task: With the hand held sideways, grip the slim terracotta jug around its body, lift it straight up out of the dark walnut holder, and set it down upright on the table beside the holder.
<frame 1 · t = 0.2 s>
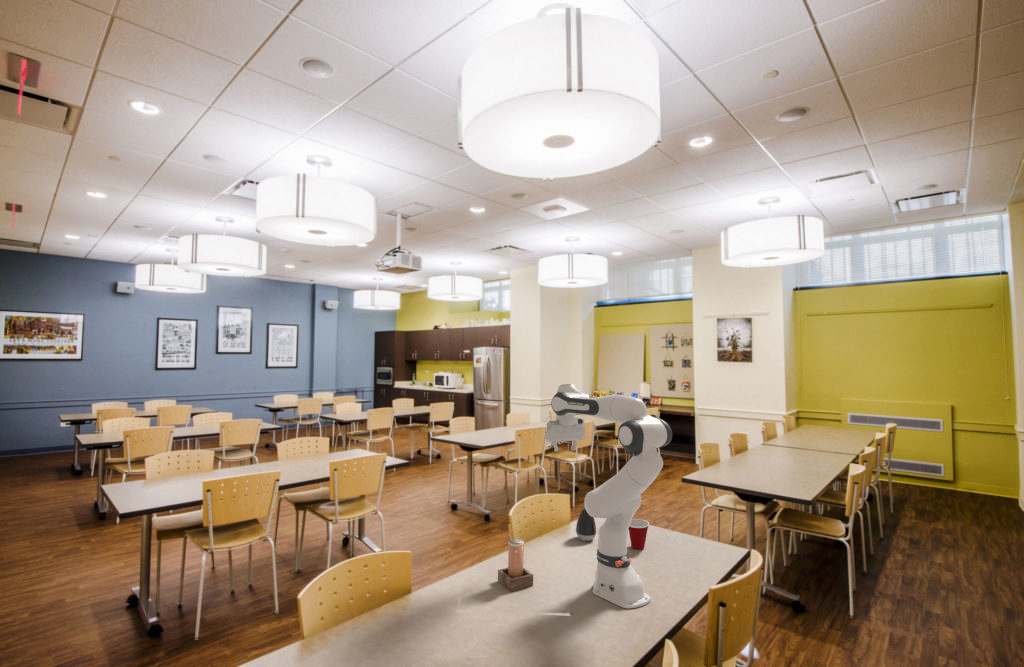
hand: (565, 450, 213), 48 cm above the table, tool pointing down, fingers open, 8 cm apart
holder: (515, 585, 185), on the table
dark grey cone: (585, 539, 236), on the table
plastic cup: (637, 548, 226), on the table
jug: (515, 583, 185), point 1 cm above the table, touching holder
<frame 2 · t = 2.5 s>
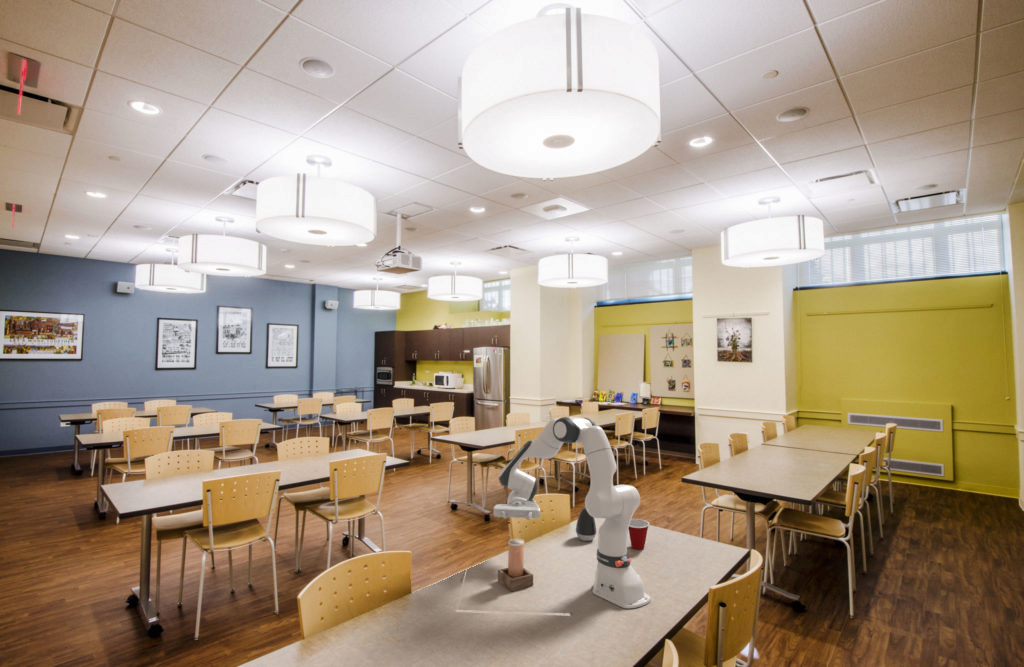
hand: (516, 517, 198), 22 cm above the table, tool horizontal, fingers open, 8 cm apart
nothing on the table moved.
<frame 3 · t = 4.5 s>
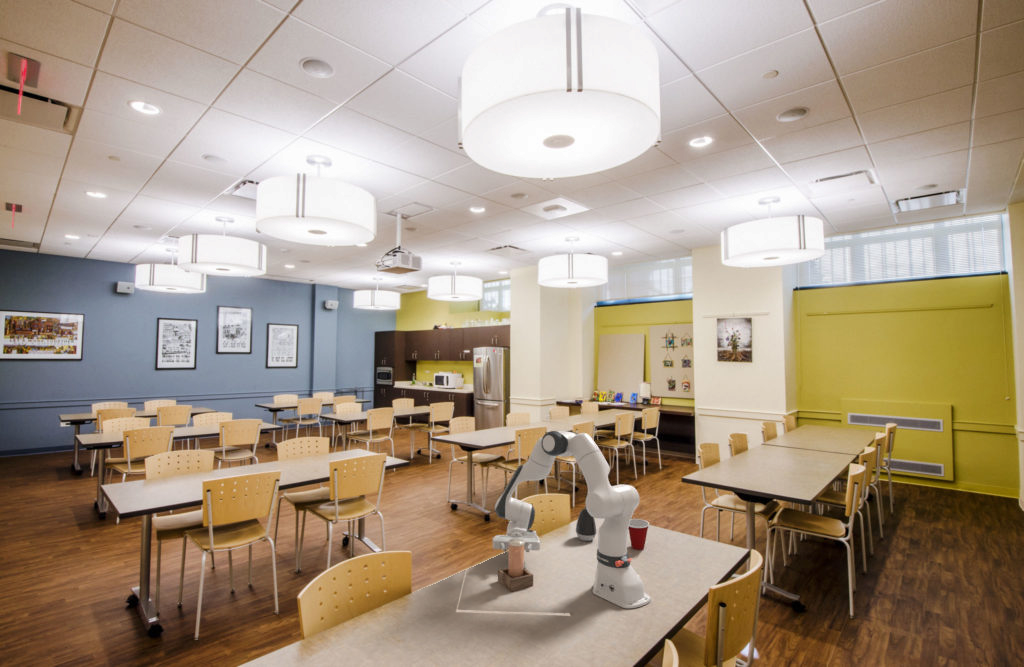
hand: (516, 550, 195), 10 cm above the table, tool horizontal, fingers open, 8 cm apart
nothing on the table moved.
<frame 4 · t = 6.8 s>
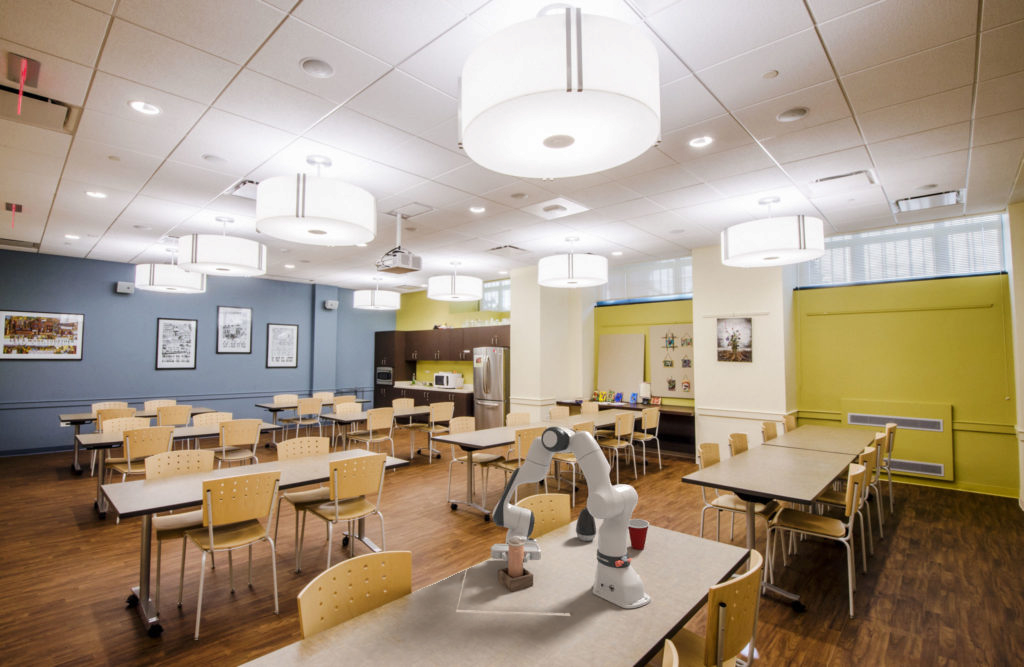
hand: (515, 560, 185), 10 cm above the table, tool horizontal, fingers closed on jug, 6 cm apart
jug: (515, 583, 185), point 1 cm above the table, touching gripper, holder
everything else where it was.
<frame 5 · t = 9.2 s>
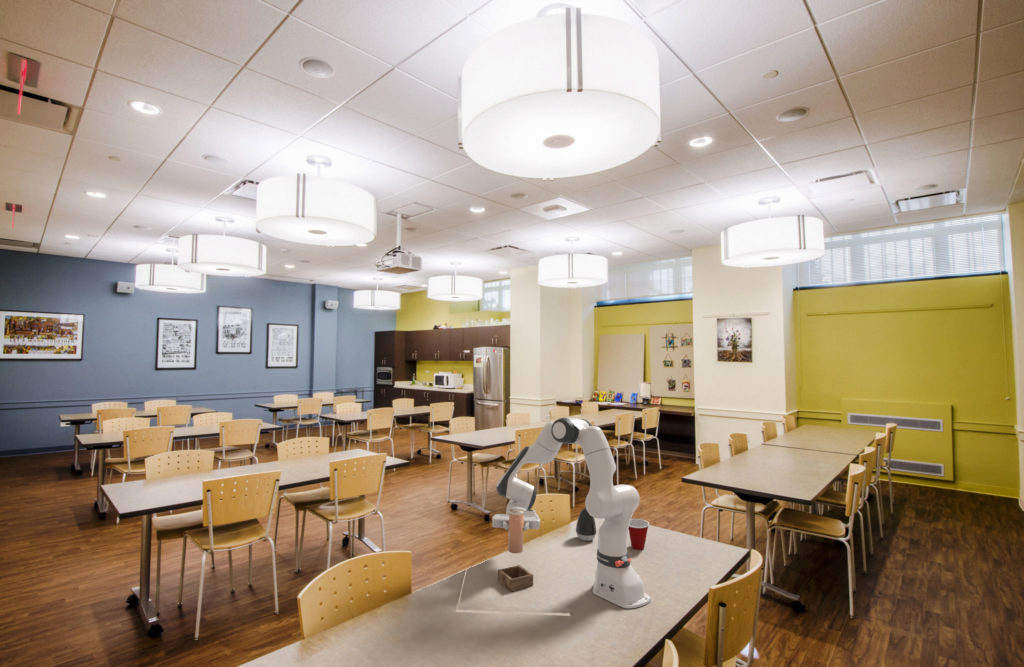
hand: (516, 528, 194), 19 cm above the table, tool horizontal, fingers closed on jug, 6 cm apart
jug: (515, 550, 194), point 10 cm above the table, touching gripper
everything else where it was.
when the fingers open (10 cm above the table, at t = 11.7 s): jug drops 1 cm, on the table.
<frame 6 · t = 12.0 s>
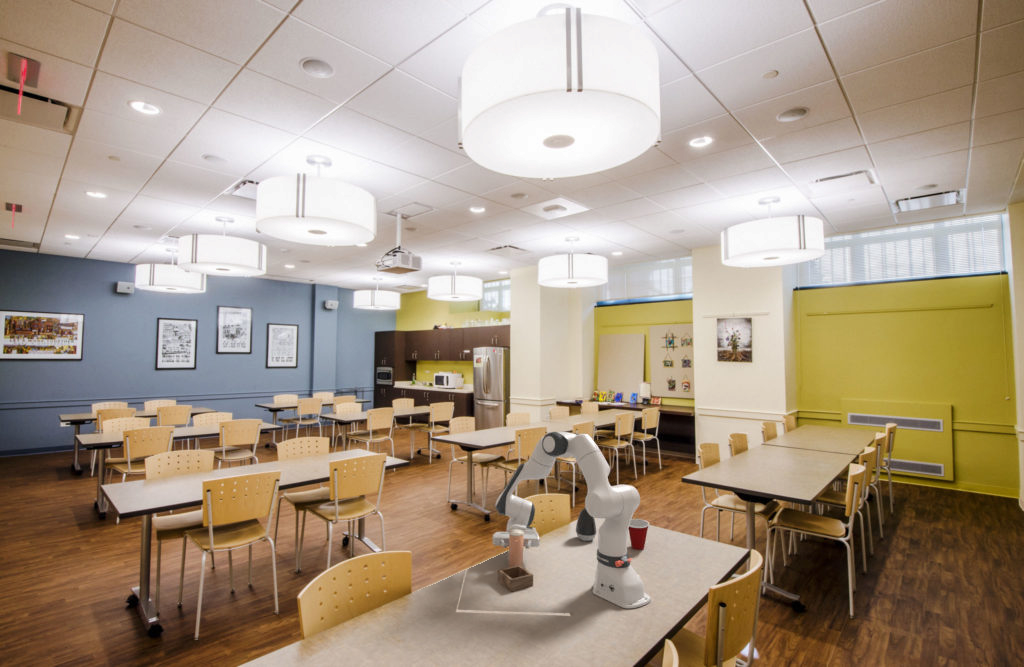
hand: (516, 546, 197), 10 cm above the table, tool horizontal, fingers open, 8 cm apart
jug: (515, 570, 198), on the table
everything else where it was.
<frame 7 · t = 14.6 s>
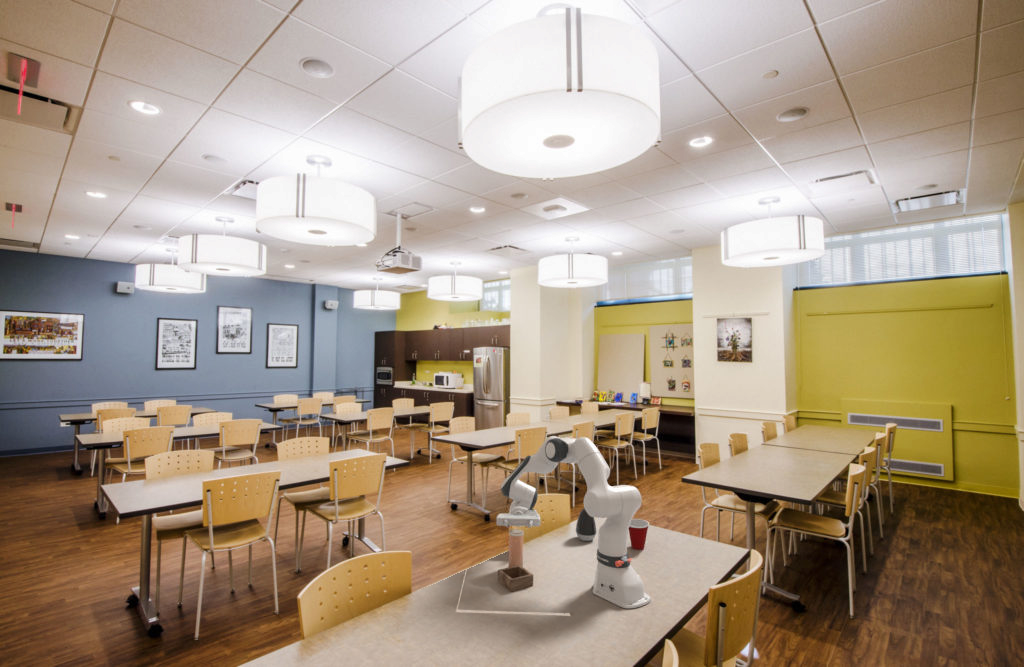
hand: (518, 525, 211), 14 cm above the table, tool horizontal, fingers open, 8 cm apart
nothing on the table moved.
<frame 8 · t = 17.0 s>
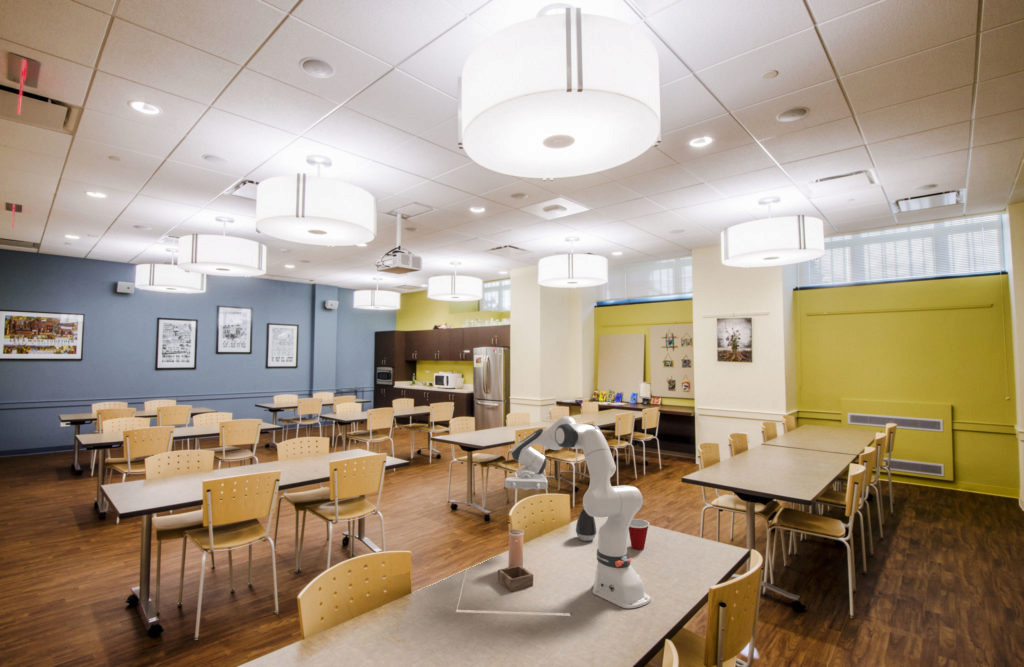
hand: (526, 487, 217), 30 cm above the table, tool horizontal, fingers open, 8 cm apart
nothing on the table moved.
at the end: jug inside the target area on the table beside the holder (0.5 cm from its centre), on the table; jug tilted 0°; the gripper is holding nothing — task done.
